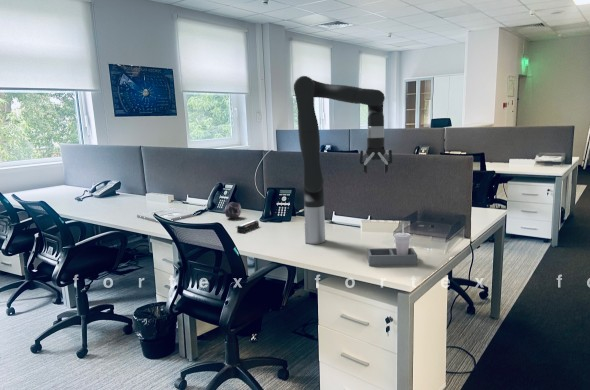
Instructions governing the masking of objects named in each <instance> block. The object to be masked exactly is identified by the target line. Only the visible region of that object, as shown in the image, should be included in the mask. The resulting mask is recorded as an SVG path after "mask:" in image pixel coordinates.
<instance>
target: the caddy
mask: <svg viewBox="0 0 590 390" xmlns="http://www.w3.org/2000/svg"><path fill="white" fill-rule="evenodd" d="M366 259H367V263H368V266H369V267H390V266H391V267H393V266H394V267H395V266H396V267H397V266H398V267H401V266H403V267H404V266H405V267H407V266H409V267H410V266H418V254H417V252H416V251H415V249H414V248H413V247H409V248H408V255H397V250H396V247H390V248H389V247H384V248H383V247H382V248H380V247H379V248H367V249H366Z"/></svg>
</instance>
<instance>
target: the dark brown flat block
mask: <svg viewBox="0 0 590 390" xmlns="http://www.w3.org/2000/svg"><path fill="white" fill-rule="evenodd" d="M259 226H260V225H259V220H257V219H256V220H255V219H253V220H250V221H248V222H245V223H242V224H239V225H238V226H236V231H237V232H236V233H238V234H244V233H246V232H248V231H251V230H254V229H256V228H259Z"/></svg>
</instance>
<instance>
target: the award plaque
mask: <svg viewBox="0 0 590 390" xmlns="http://www.w3.org/2000/svg"><path fill="white" fill-rule="evenodd" d="M153 213H157V214H158V215H160V216H162V217H163V216H164V218H167V219H171V220H175V221H179V220H183V219H187V218H191V217H197V214H194V213H195V212H193V211H189V210H184V209H179V208H175V207H169V208H163V209H158V210H153V211H148V212H144V213H140V214H136V218H139V219H142V220H146V221H150V222H154V223H158V221H156V220H155V219H154V217H153ZM193 214H194V215H193ZM140 216H141V217H140ZM144 217H145V218H144ZM180 217H181V218H180ZM158 224H159V223H158Z"/></svg>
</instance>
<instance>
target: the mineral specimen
mask: <svg viewBox="0 0 590 390" xmlns="http://www.w3.org/2000/svg"><path fill="white" fill-rule="evenodd" d="M241 214H242V207H241V204H240V202H235V201H231V202H229V203H227V204H226V206H225V208H224V215H225V217H226V218H229V219H237V218H239V217H240V215H241Z"/></svg>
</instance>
